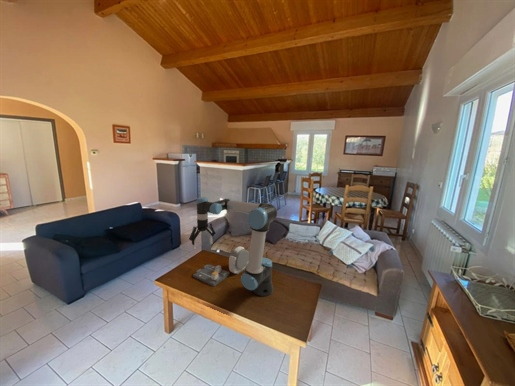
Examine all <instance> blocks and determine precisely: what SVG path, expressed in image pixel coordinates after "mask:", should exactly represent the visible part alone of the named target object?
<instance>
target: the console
mask: <svg viewBox="0 0 515 386" xmlns="http://www.w3.org/2000/svg"><path fill="white" fill-rule="evenodd" d="M215 267H216V266H215V265H212V264H205V265H204V266H203V268H199V269H198V270H196V272H195V273H193V275H192V276H193V278H194V279H197V280H199V281H201V282H203V283H205V284H208V285H210V286H212V287H215V286H217V285H218V284H220V283H221V282H222V281H224V280H225V279H226V278H227V277H228V276H230V275H231V274H230V272H231V271H230V272H229V271H227V270H224V269H222V268H221V272H219V273H218V278H217V279H216V280H213V279H212V273H213V272H215Z"/></svg>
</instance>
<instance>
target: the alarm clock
mask: <svg viewBox="0 0 515 386" xmlns="http://www.w3.org/2000/svg"><path fill="white" fill-rule="evenodd" d="M249 252H250V251H249V250H247V249H245V247H243V246H237V247H236V246H235V248H233V249H232V250H231V251H230V254H229V256H228V269H229V271H230V272H231V273H233V274H236V275H239V274H241V273H242V272H243V271H245V266H246V264H248V260H249Z"/></svg>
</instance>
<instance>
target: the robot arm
mask: <svg viewBox="0 0 515 386" xmlns="http://www.w3.org/2000/svg"><path fill="white" fill-rule="evenodd" d="M222 211H231V212H237V213H244V214H247V223H248V225H249V229H250V231H251V238H250V244H249V251H248V252H249V260H248V264H246V266H245V270H244V272H243V273H242V275H241V276H240V282H241V284H242V285H243V287H244V288H245V289H246V290H249V291H252V292H253V294H255V295H257V296H260V297H267V296H270V295H271V294H273V292H274V285H273V282H272V273H273V261H272V260H271V259H270V258H267V257H263V256H264V249H265V244H266V243H265V241H266V236H267V233H268V232H269V231H270V225H271V223H272V222H274V221H275V220H276V218H277V217H278V210H277V208H276V206H275V205H274V204H271V203H265V202H260V203H255V202H247V201H239V200H233V199H231V198H223V199H221V200H217V201H208V198H207V197H205V196H204V197H203V196H201V197H198V198H196V221H197V223H196V224H197V225H196V226H192V230H191V233H190V236H189V239H188V240H189V241H190V242H191V245H192V249H194V250H196V249H197V247H196V246H197V244H196V238H197V237H198V236H199V234H201V232H205V231H207V232H208V234H209V244H210V245H213V240H214V237H215V235H216V232H215V230H214V227H213V225H212V223H211V222H209V219H208V218H209V217H208V213H209V214H213V215H220V214H221V212H222ZM208 227H209V228H208ZM209 229H210V230H209Z"/></svg>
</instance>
